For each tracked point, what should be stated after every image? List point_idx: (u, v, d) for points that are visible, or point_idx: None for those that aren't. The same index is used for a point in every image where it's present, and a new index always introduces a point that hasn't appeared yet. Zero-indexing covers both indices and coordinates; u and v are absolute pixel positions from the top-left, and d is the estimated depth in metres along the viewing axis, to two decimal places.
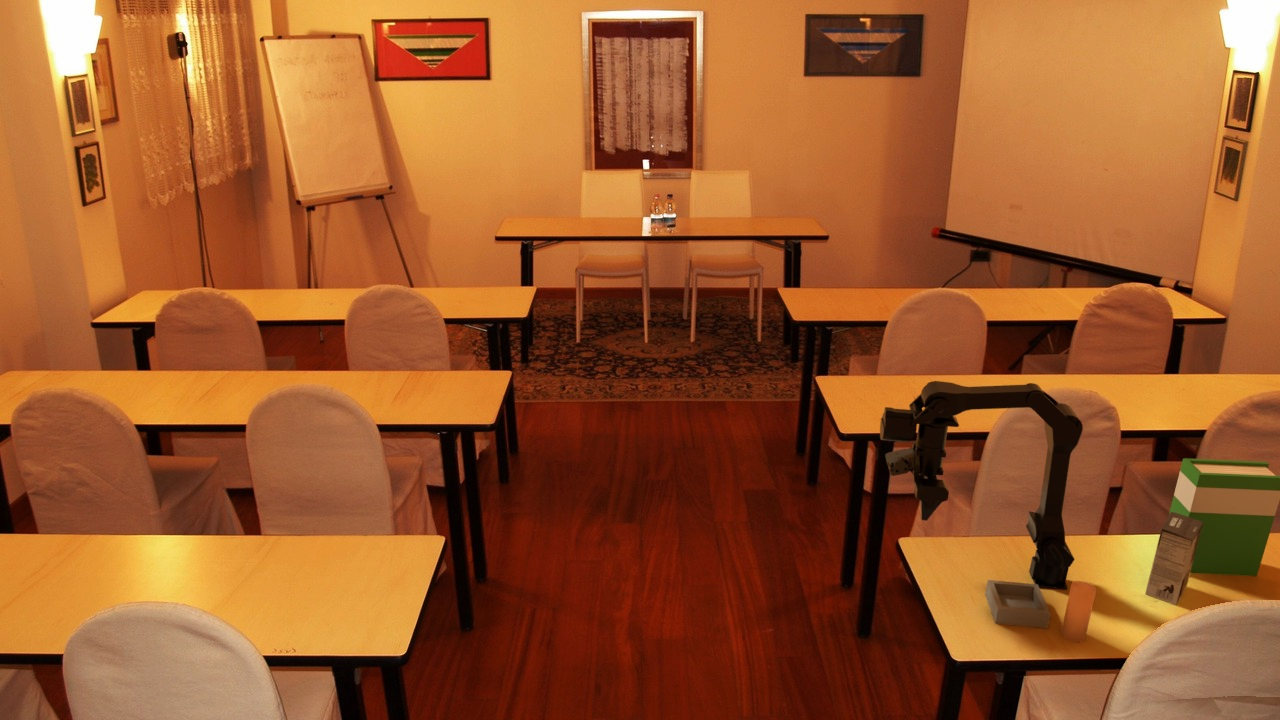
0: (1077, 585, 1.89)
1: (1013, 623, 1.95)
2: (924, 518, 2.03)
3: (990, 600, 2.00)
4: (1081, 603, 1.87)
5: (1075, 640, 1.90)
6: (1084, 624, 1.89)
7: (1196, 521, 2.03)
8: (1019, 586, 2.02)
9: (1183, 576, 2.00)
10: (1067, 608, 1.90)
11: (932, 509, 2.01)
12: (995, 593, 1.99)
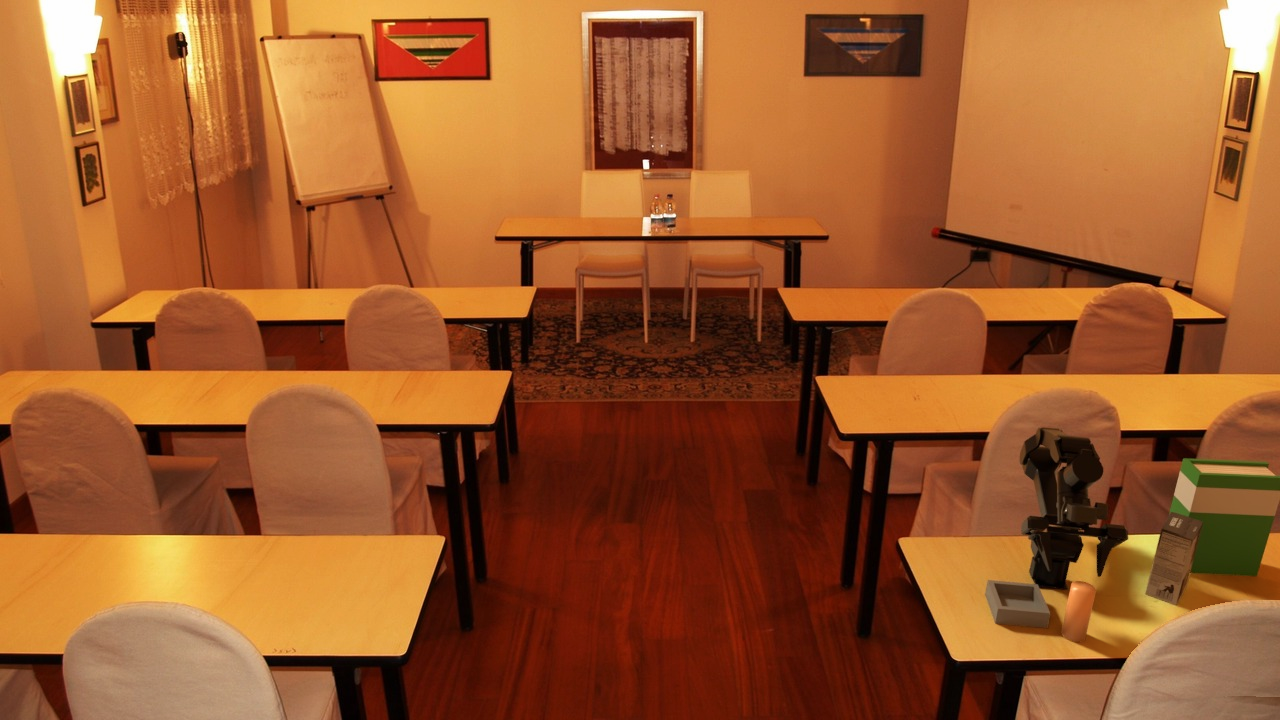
0: (1077, 585, 1.89)
1: (1013, 623, 1.95)
2: None
3: (990, 600, 2.00)
4: (1081, 603, 1.87)
5: (1075, 640, 1.90)
6: (1084, 624, 1.89)
7: (1196, 521, 2.03)
8: (1019, 586, 2.02)
9: (1183, 576, 2.00)
10: (1067, 608, 1.90)
11: None
12: (995, 593, 1.99)
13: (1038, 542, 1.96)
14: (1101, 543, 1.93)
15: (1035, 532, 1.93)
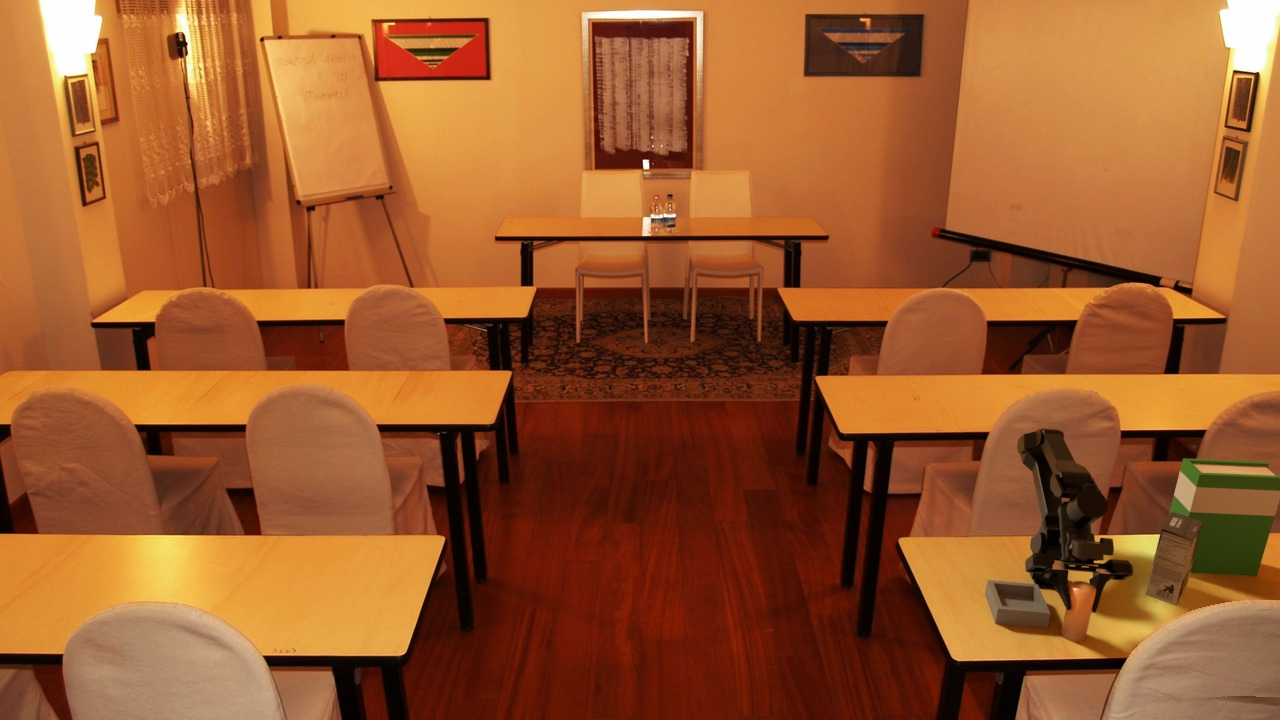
0: (1077, 585, 1.89)
1: (1013, 623, 1.95)
2: None
3: (990, 600, 2.00)
4: (1082, 603, 1.87)
5: (1075, 640, 1.90)
6: (1084, 624, 1.89)
7: (1196, 521, 2.03)
8: (1019, 586, 2.02)
9: (1183, 576, 2.00)
10: None
11: None
12: (995, 593, 1.99)
13: (1055, 580, 1.93)
14: (1094, 578, 1.91)
15: (1053, 570, 1.90)
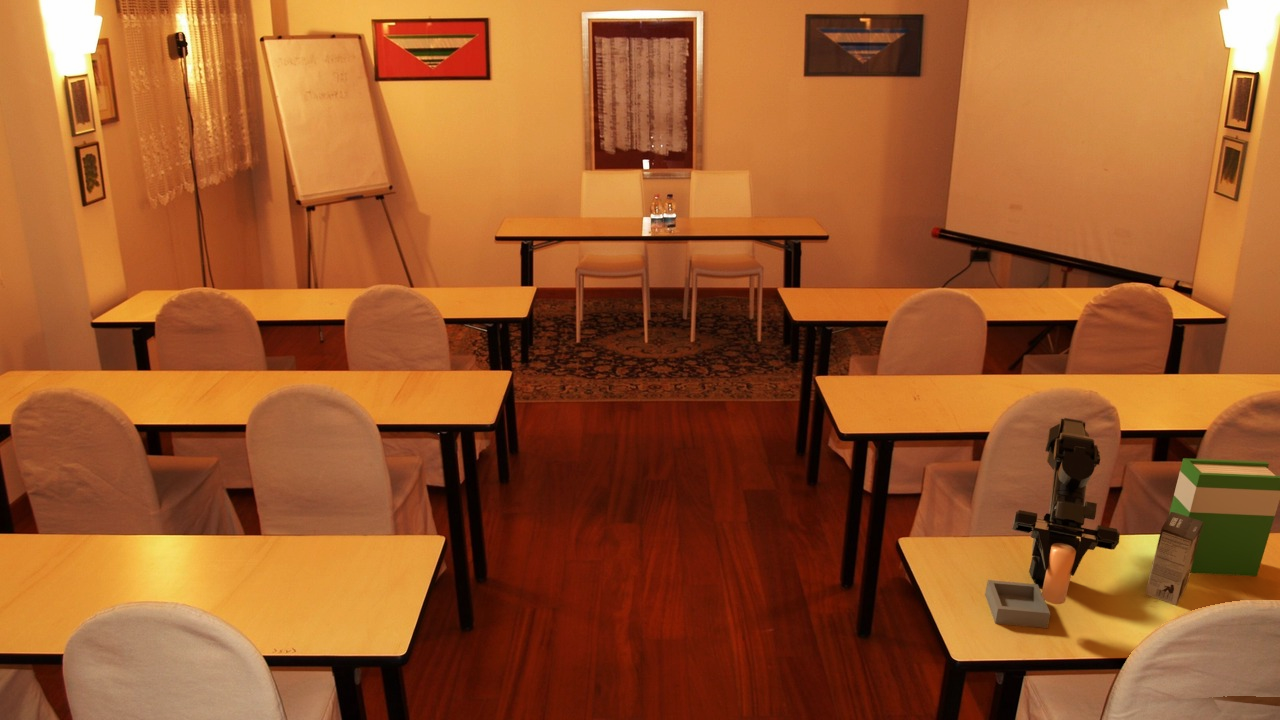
0: (1058, 546, 1.89)
1: (1013, 623, 1.95)
2: None
3: (990, 600, 2.00)
4: (1058, 563, 1.87)
5: (1052, 601, 1.90)
6: (1061, 586, 1.89)
7: (1196, 521, 2.03)
8: (1019, 586, 2.02)
9: (1183, 576, 2.00)
10: None
11: None
12: (995, 593, 1.99)
13: (1039, 541, 1.93)
14: (1079, 542, 1.90)
15: (1034, 529, 1.91)
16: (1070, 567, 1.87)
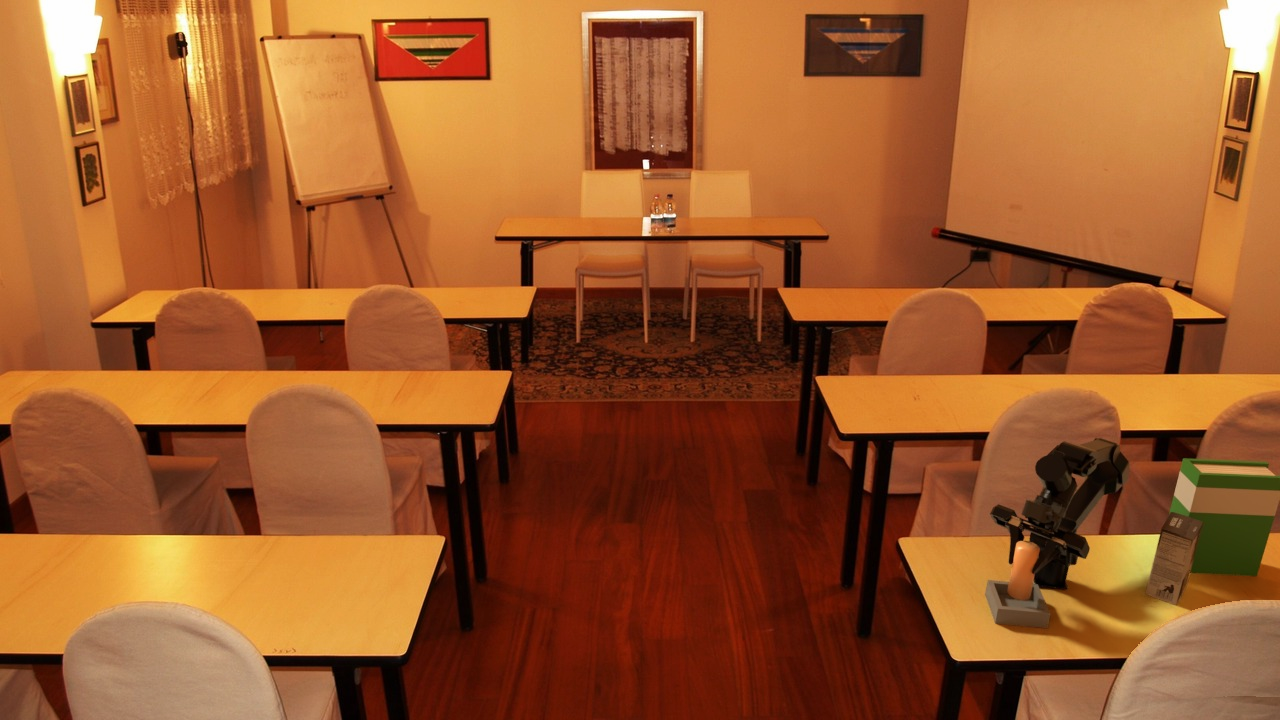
0: (1024, 543, 1.95)
1: (1013, 623, 1.95)
2: (1035, 571, 1.93)
3: (990, 600, 2.00)
4: (1018, 559, 1.94)
5: (1013, 596, 1.97)
6: (1021, 582, 1.95)
7: (1196, 521, 2.03)
8: None
9: (1183, 576, 2.00)
10: None
11: (1046, 562, 1.94)
12: (995, 593, 1.99)
13: None
14: None
15: (1005, 523, 1.98)
16: (1030, 565, 1.93)
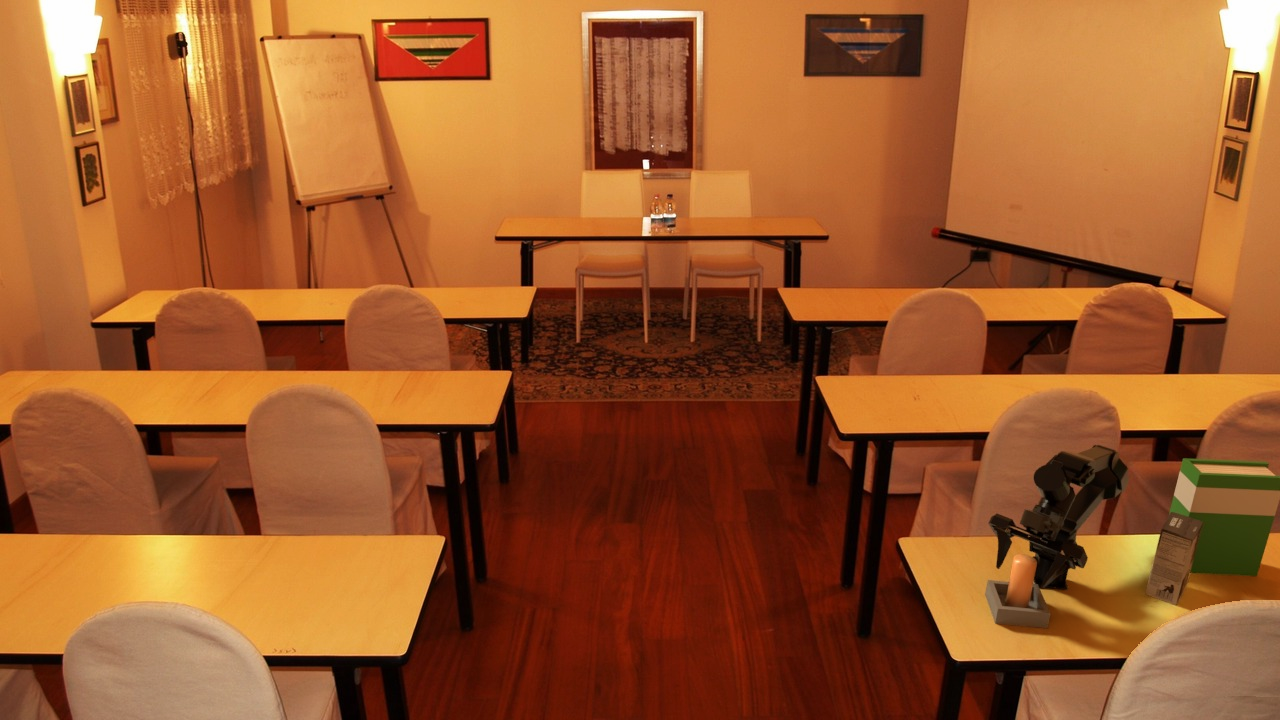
0: (1021, 557, 1.96)
1: (1013, 623, 1.95)
2: (1045, 585, 1.92)
3: (990, 600, 2.00)
4: (1016, 572, 1.95)
5: None
6: (1019, 595, 1.96)
7: (1196, 521, 2.03)
8: None
9: (1183, 576, 2.00)
10: None
11: (1055, 576, 1.93)
12: (995, 593, 1.99)
13: None
14: None
15: (993, 528, 2.00)
16: (1028, 578, 1.94)
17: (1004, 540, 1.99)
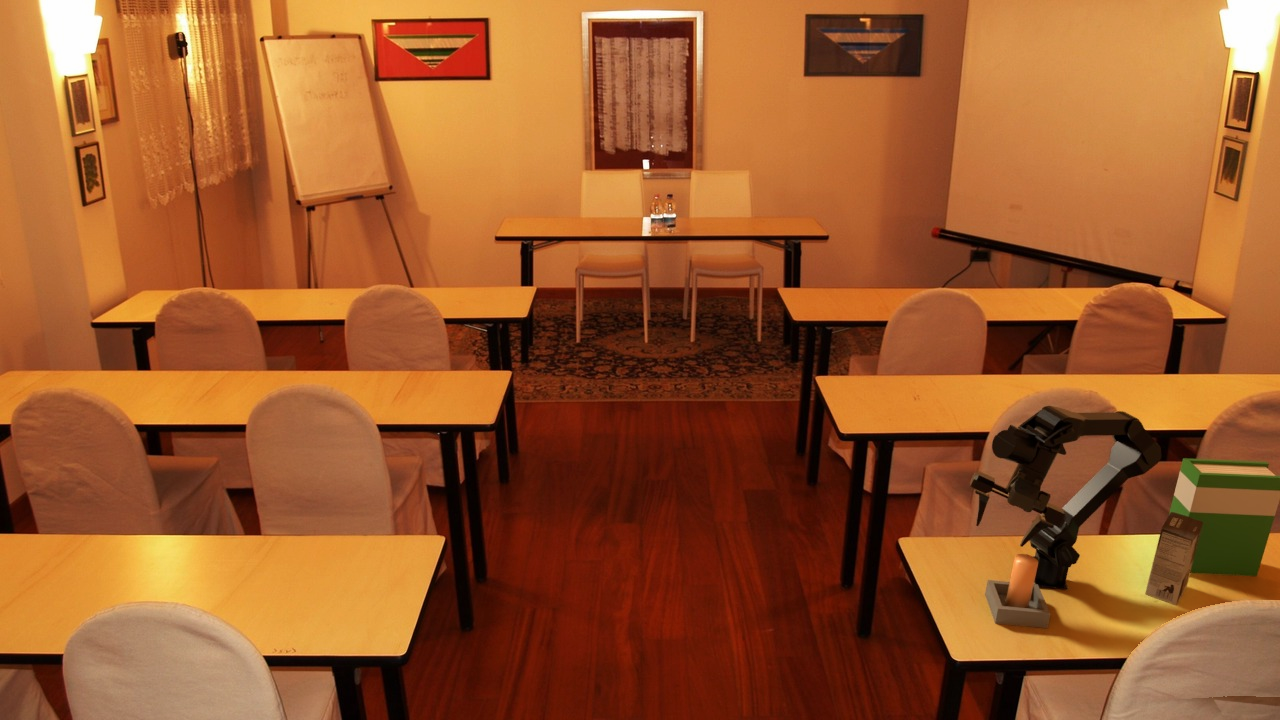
0: (1022, 556, 1.96)
1: (1013, 623, 1.95)
2: None
3: (990, 600, 2.00)
4: (1017, 572, 1.95)
5: None
6: (1019, 595, 1.96)
7: (1196, 521, 2.03)
8: None
9: (1183, 576, 2.00)
10: None
11: None
12: (995, 593, 1.99)
13: None
14: (1037, 519, 1.97)
15: (975, 492, 1.98)
16: (1029, 578, 1.94)
17: (986, 502, 1.98)
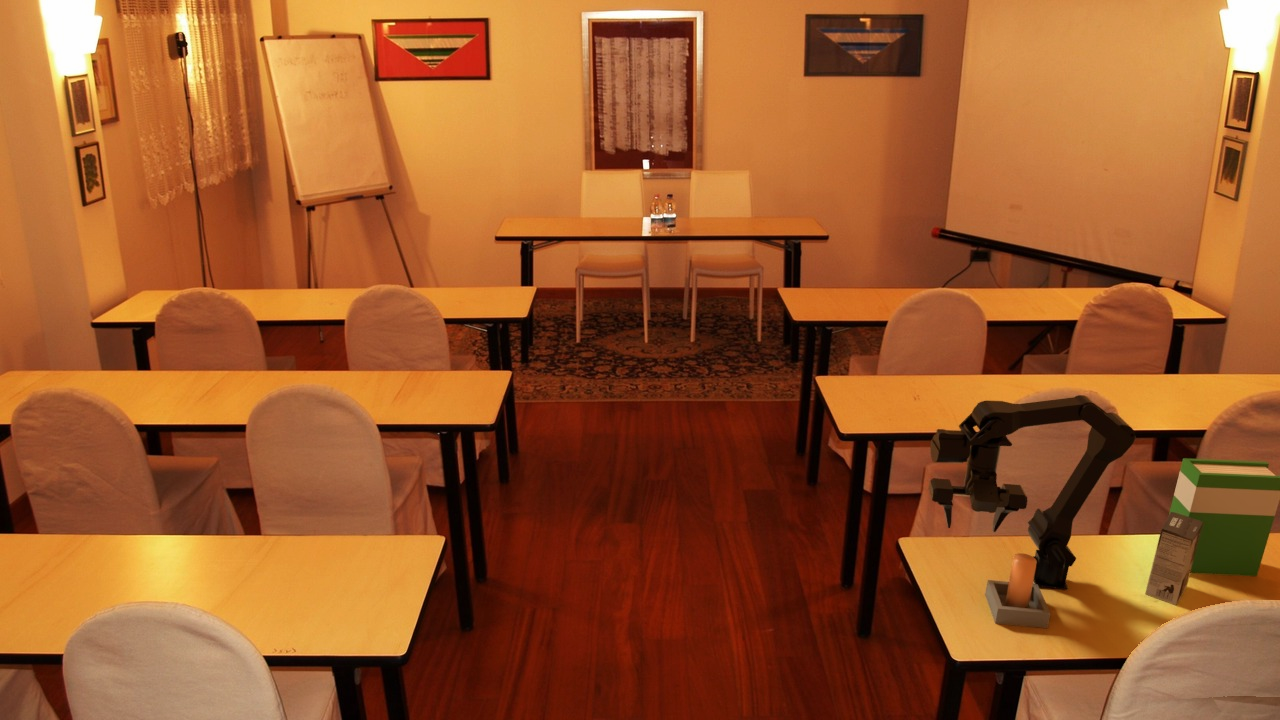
0: (1021, 556, 1.96)
1: (1013, 623, 1.95)
2: None
3: (990, 600, 2.00)
4: (1016, 571, 1.95)
5: None
6: (1019, 595, 1.96)
7: (1196, 521, 2.03)
8: None
9: (1183, 576, 2.00)
10: None
11: None
12: (995, 593, 1.99)
13: None
14: None
15: (939, 503, 2.02)
16: (1028, 577, 1.94)
17: (950, 508, 2.03)
